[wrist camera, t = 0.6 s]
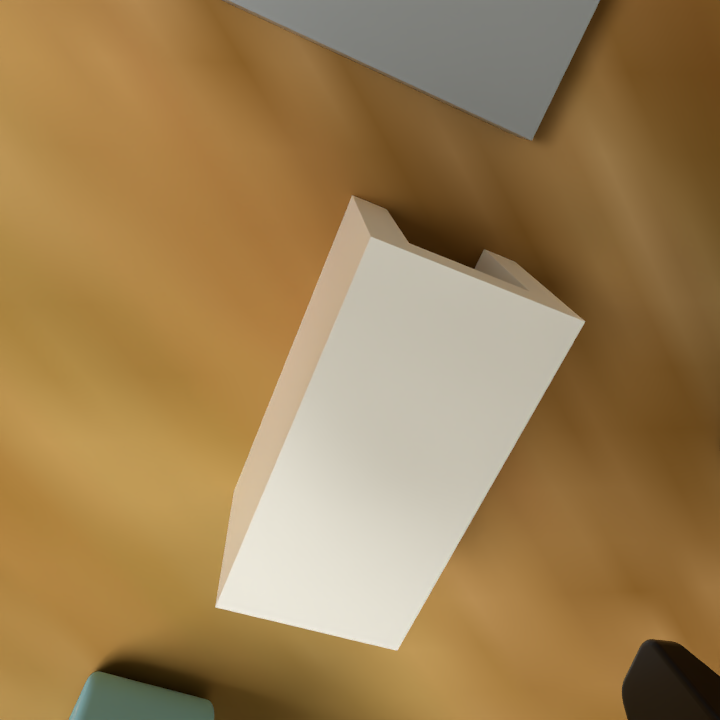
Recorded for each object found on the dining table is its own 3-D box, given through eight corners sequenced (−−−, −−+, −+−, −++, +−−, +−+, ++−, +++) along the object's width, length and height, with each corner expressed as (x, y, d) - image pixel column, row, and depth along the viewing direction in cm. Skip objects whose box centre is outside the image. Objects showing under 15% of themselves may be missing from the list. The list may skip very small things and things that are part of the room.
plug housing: (514, 261, 18) (585, 321, 14) (376, 530, 22) (397, 650, 17) (351, 194, 17) (370, 236, 13) (234, 489, 21) (215, 607, 16)
